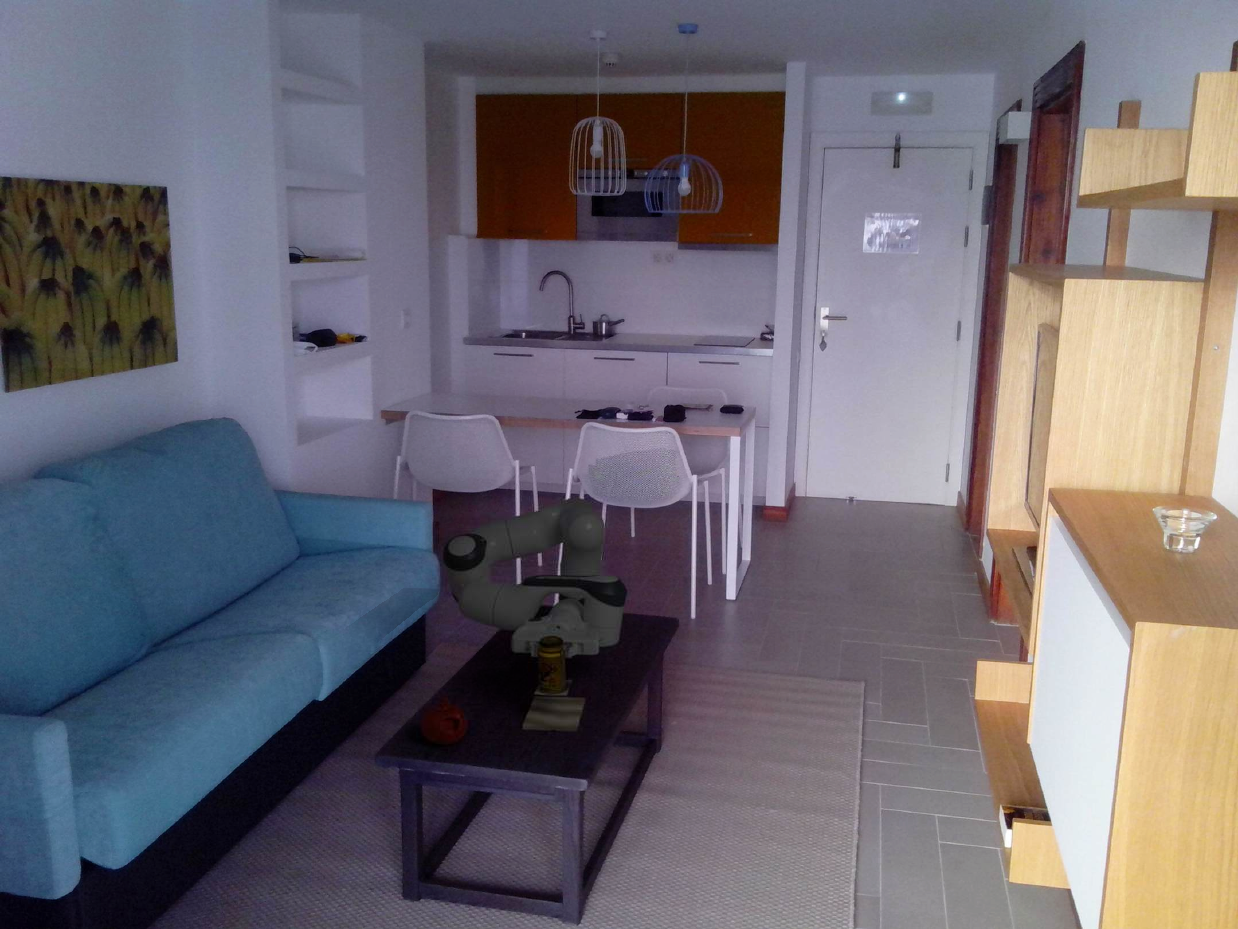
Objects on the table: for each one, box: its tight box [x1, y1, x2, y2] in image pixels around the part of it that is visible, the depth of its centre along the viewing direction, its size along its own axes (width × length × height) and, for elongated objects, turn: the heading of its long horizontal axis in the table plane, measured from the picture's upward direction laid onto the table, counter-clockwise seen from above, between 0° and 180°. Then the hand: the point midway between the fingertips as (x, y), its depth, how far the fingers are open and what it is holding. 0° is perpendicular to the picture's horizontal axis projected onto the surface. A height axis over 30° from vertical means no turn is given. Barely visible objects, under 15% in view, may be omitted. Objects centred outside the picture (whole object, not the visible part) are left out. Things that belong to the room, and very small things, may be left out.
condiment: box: [534, 636, 573, 697], centre depth 236 cm, size 7×8×12 cm
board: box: [522, 695, 586, 732], centre depth 239 cm, size 16×12×1 cm
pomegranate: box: [420, 697, 468, 746], centre depth 227 cm, size 10×10×9 cm
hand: (551, 654), depth 233 cm, fingers closed on condiment, 6 cm apart
